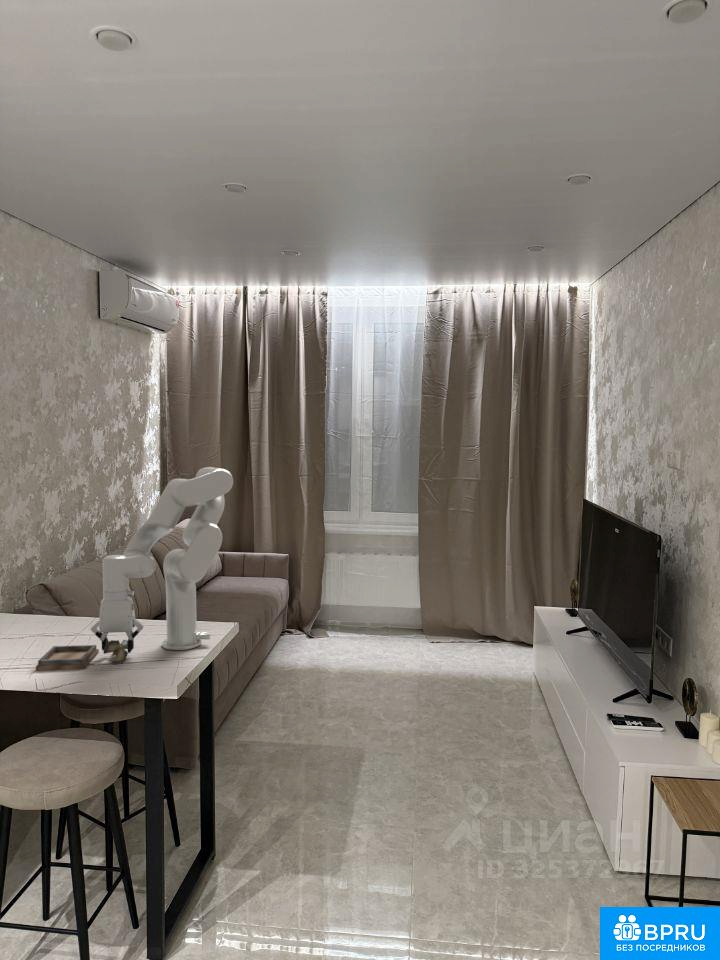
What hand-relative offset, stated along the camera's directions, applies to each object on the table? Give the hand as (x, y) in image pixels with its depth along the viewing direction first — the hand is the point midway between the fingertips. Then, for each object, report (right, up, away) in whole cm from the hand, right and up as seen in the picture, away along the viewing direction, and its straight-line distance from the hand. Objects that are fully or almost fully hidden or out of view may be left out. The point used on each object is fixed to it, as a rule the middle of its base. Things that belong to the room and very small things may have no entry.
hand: (117, 651), depth 222 cm
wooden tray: (-14, -2, -4) cm, 15 cm away
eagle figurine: (0, -2, -2) cm, 3 cm away
